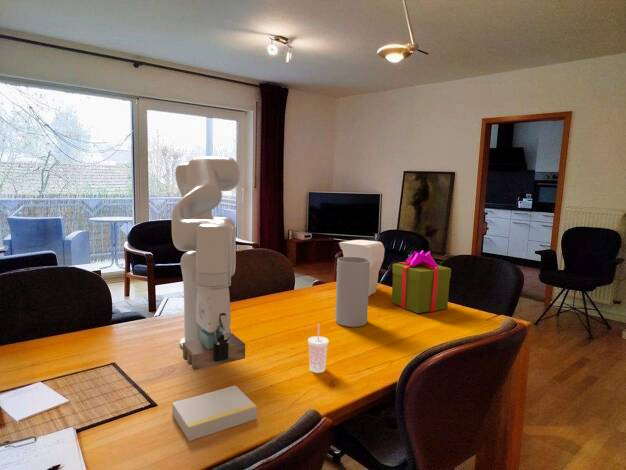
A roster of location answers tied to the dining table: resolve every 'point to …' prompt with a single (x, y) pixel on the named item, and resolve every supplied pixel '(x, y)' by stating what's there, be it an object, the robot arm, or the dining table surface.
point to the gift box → (420, 284)
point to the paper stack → (368, 251)
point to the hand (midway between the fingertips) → (214, 353)
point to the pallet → (211, 353)
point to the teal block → (208, 338)
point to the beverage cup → (317, 352)
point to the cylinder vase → (352, 291)
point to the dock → (213, 412)
